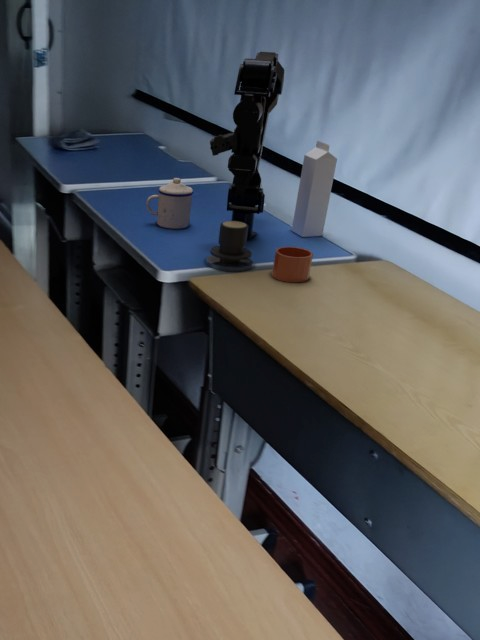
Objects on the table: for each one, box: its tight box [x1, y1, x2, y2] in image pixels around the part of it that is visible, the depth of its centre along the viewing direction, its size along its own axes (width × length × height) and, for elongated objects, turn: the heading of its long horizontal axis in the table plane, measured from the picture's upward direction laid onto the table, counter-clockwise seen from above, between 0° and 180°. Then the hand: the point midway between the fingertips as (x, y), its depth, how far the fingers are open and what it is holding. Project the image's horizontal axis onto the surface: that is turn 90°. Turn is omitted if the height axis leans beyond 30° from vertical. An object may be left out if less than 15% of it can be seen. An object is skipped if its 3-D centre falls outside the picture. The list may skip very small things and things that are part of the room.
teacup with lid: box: [146, 177, 194, 230], centre depth 219 cm, size 12×9×12 cm
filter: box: [209, 220, 253, 264], centre depth 193 cm, size 10×10×8 cm
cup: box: [271, 246, 314, 283], centre depth 188 cm, size 8×8×6 cm
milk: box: [291, 140, 338, 238], centre depth 212 cm, size 6×6×22 cm
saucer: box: [205, 254, 254, 272], centre depth 195 cm, size 11×11×1 cm
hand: (240, 194), depth 198 cm, fingers open, 9 cm apart
